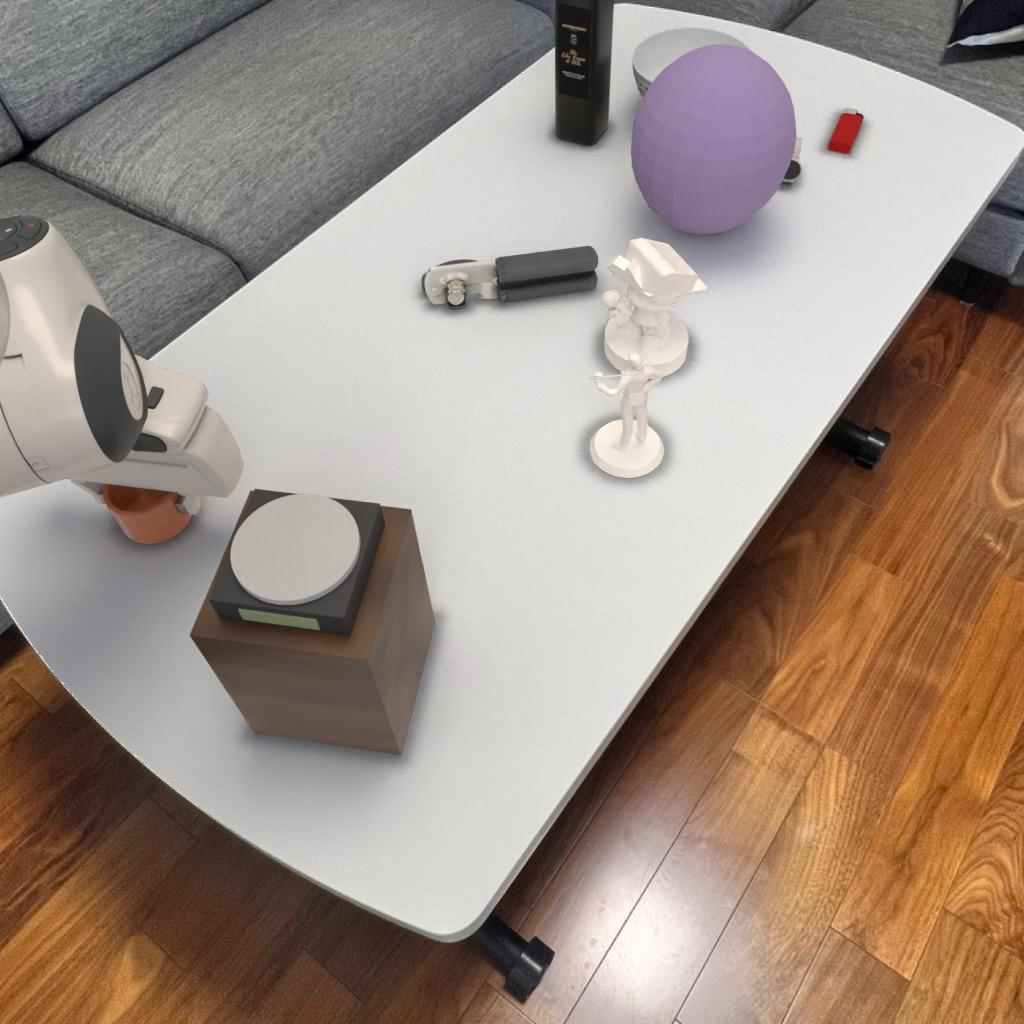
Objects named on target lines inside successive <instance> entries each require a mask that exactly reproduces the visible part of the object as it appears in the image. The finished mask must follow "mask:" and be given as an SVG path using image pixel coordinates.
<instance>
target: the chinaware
mask: <svg viewBox="0 0 1024 1024" xmlns="http://www.w3.org/2000/svg"><path fill="white" fill-rule="evenodd" d="M715 44H726V45H734V46H739V47H742V48H745V49H748V50H750V51H752V52H753V50H752V49H751V48H750V46H749V45H748V44H747V43H746V42H744V41H743V40H742V39H740V38H738V37H737V36H735V35H732V34H730V33H728V32H725V31H721V30H718V29H713V28H707V27H695V26H694V27H692V26H690V27H689V26H688V27H676V28H670V29H665V30H662V31H658V32H656V33H653V34H651V35H649V36H647V37H645V38H644V39H643V40H641V41H640V42H639V43H638V44H637V45H636V46H635V47H634V49H633V52H632V55H631V65H632V73H633V77H634V81H635V84H636V87H637V90H638V92H639V94H640V95H641V97H642V98H643V97H644V95H645V93H646V92H647V90H648V88H649V87H650V85H651V84H652V82H653V81H654V79H655V78H656V77H657V76H658V75H659V74H660V73H661V72H662V70H663V69H665V68H666V67H667V66H668V65H670V64H671V63H672V62H674V61H675V60H676V59H678V58H679V57H681V56H682V55H684V54H686V53H688V52H690V51H692V50H695V49H698V48H700V47H703V46H708V45H715Z"/></svg>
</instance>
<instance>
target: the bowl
mask: <svg viewBox="0 0 1024 1024" xmlns="http://www.w3.org/2000/svg"><path fill="white" fill-rule="evenodd" d="M178 497H179V494H178V492H170V491H162V490H154V489H145V488H137V487H129V486H120V485H112V484H105V486H104V488H103V500H104V502H105V504H104V505H105V506H106V507H107V509H108V510H109V512H110V513H111V515H112V516H113V518H114V520H115V521H116V523H117V524H118V526H119V527H120V529H121V530H122V531H123V533H124V534H125V536H126V537H127V538H129V539H130V540H131V541H134V542H135V543H138V544H143V545H154V544H161V543H164V542H166V541H169V540H171V539H173V538H174V537H176V536H177V535H179V534H180V533H181V532H183V531H184V529H185V528H186V527H187V526H188V524H189V523H190V521H191V519H192V516H193V515H188V514H181V513H179V512H178V511H179V510H178V509H177V508H176V506H175V505H174V503H175V502H176V499H177V498H178Z"/></svg>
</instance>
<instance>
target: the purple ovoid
mask: <svg viewBox="0 0 1024 1024" xmlns="http://www.w3.org/2000/svg"><path fill="white" fill-rule="evenodd" d="M796 138H798V136H797V123H796V113H795V107H794V103H793V100H792V96H791V93H790V91H789V90H788V88H787V86H786V84H785V82H784V80H783V79H782V78H781V76H780V75H779V73H777V71H776V70H775V68H774V67H773V66H772V65H771V64H770V63H769V61H767V60H765V59H764V58H762V57H761V56H760V55H758V54H757V53H755V52H753V50H752V51H750V50H748V49H745V48H742V47H739V46H734V45H726V44H715V45H708V46H703V47H700V48H698V49H695V50H692V51H690V52H688V53H686V54H684V55H682V56H681V57H679V58H678V59H676V60H675V61H674V62H672V63H671V64H670V65H668V66H667V67H666V68H665V69H663V70H662V72H661V73H660V74H659V75H658V76H657V77H656V78H655V79H654V81H653V82H652V84H651V85H650V87H649V88H648V90H647V92H646V93H645V95H644V97H642V99H641V100H640V103H639V104H638V106H637V109H636V113H635V116H634V119H633V123H632V131H631V142H630V158H631V168H632V173H633V176H634V181H635V183H636V184H637V187H638V189H639V191H640V193H641V195H642V198H643V200H644V202H645V203H646V205H647V206H648V208H649V209H650V210H651V211H652V212H653V213H654V214H655V215H656V216H658V217H659V218H660V220H662V222H664V223H665V224H667V225H669V226H671V227H672V228H676V229H677V230H680V231H682V232H685V233H689V234H694V235H715V234H719V233H720V234H721V233H725V232H727V231H729V230H732V229H734V228H737V227H738V226H741V225H743V224H744V223H746V222H747V221H749V220H750V219H751V218H752V217H754V216H755V215H756V214H757V213H758V212H759V211H761V210H762V209H763V208H764V207H765V206H766V205H767V204H768V203H769V201H770V200H771V199H772V198H773V197H774V196H775V194H776V193H777V190H778V189H779V187H780V185H781V184H782V183H783V181H782V180H783V178H784V176H785V174H786V172H787V169H788V167H789V165H790V162H791V159H792V157H793V154H794V150H795V143H796Z"/></svg>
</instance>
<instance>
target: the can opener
mask: <svg viewBox="0 0 1024 1024" xmlns="http://www.w3.org/2000/svg"><path fill="white" fill-rule="evenodd" d="M598 266H599V256H598V253H597V250H596V249H595V248H594V247H593V246H592V245H581V246H575V247H574V246H573V247H567V248H560V249H559V248H558V249H551V250H543V251H535V252H529V253H521V254H512V255H505V256H499V257H496V258H495V260H494V262H492V260H491V259H486V260H476V259H469V258H467V259H465V258H462V259H452V260H447V261H444V262H442V263H439V264H437V265H435V266H431V267H429V268H428V269H427V271H425V272H424V273H423V275H422V276H421V280H420V281H421V289H422V291H423V293H425V294H426V296H427V298H428V299H429V301H430V302H431V303H432V304H433V305H445V304H446V305H447V308H449V309H450V310H456V309H463V308H467V301H468V300H469V298H470V297H471V296H473V295H475V294H480V295H481V296H479V299H480V300H497V299H499V301H500V302H501V303H508V302H514V301H515V302H516V301H522V300H528V299H536V298H541V297H548V296H557V295H563V294H569V293H570V294H571V293H577V292H583V291H590V290H593V289H594V288H596V286H597V285H598V275H597V271H596V269H597V268H598ZM494 279H496V283H495V282H493V280H494Z"/></svg>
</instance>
